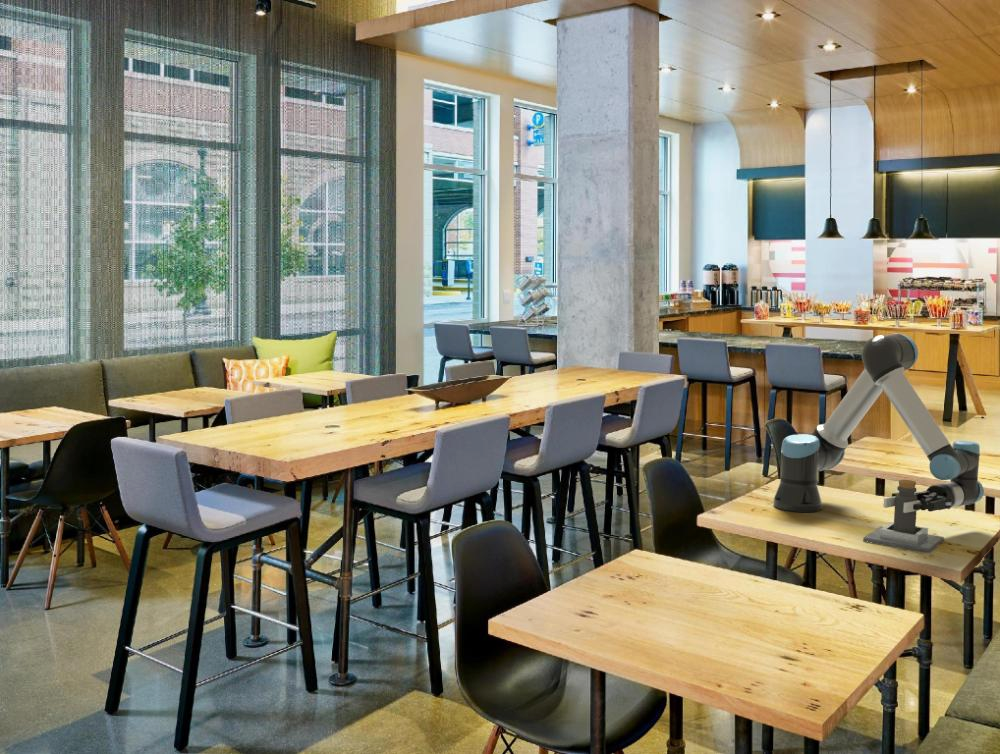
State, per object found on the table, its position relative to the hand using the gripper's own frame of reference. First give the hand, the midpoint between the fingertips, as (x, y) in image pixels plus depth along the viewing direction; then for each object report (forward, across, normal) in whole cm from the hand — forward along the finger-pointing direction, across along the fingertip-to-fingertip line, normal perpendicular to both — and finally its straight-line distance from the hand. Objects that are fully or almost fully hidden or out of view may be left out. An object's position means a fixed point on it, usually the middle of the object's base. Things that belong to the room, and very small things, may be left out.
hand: (894, 505), depth 280 cm
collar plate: (-5, 0, -11) cm, 12 cm away
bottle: (-5, 0, -9) cm, 10 cm away
